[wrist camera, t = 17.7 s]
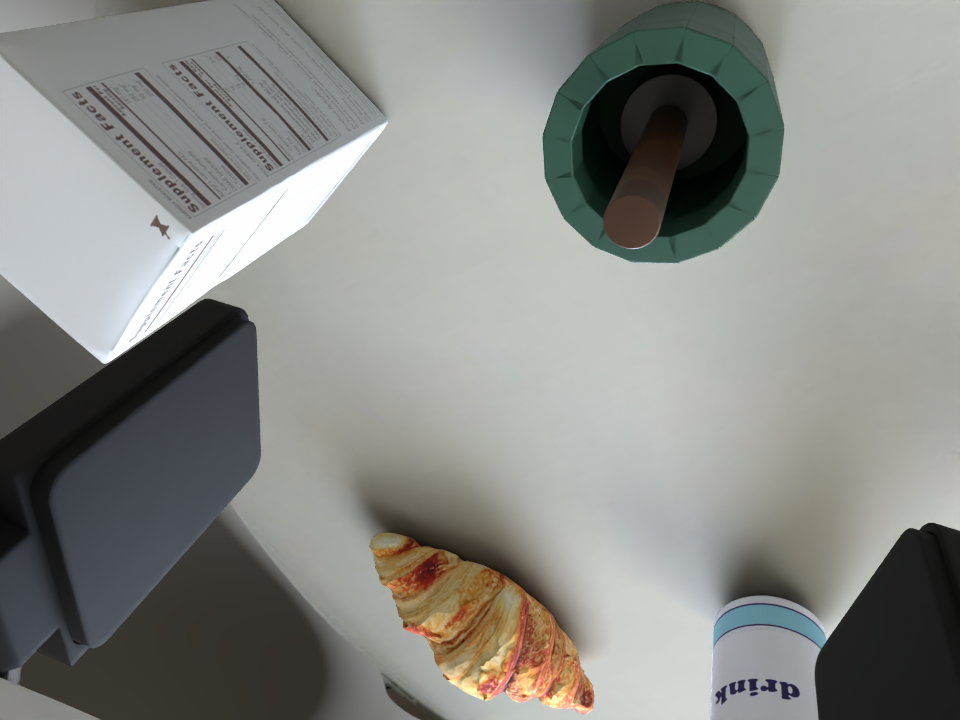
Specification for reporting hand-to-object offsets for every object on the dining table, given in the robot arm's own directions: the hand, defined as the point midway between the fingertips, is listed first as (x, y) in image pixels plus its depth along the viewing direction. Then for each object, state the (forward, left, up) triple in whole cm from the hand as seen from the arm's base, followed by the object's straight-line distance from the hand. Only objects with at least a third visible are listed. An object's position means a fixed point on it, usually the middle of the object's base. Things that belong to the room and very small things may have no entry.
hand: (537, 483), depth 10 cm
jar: (0, 0, -28) cm, 28 cm away
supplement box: (-15, -15, -28) cm, 35 cm away
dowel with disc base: (0, 0, -28) cm, 28 cm away
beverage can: (+29, -19, -28) cm, 45 cm away
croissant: (+17, -35, -28) cm, 48 cm away
